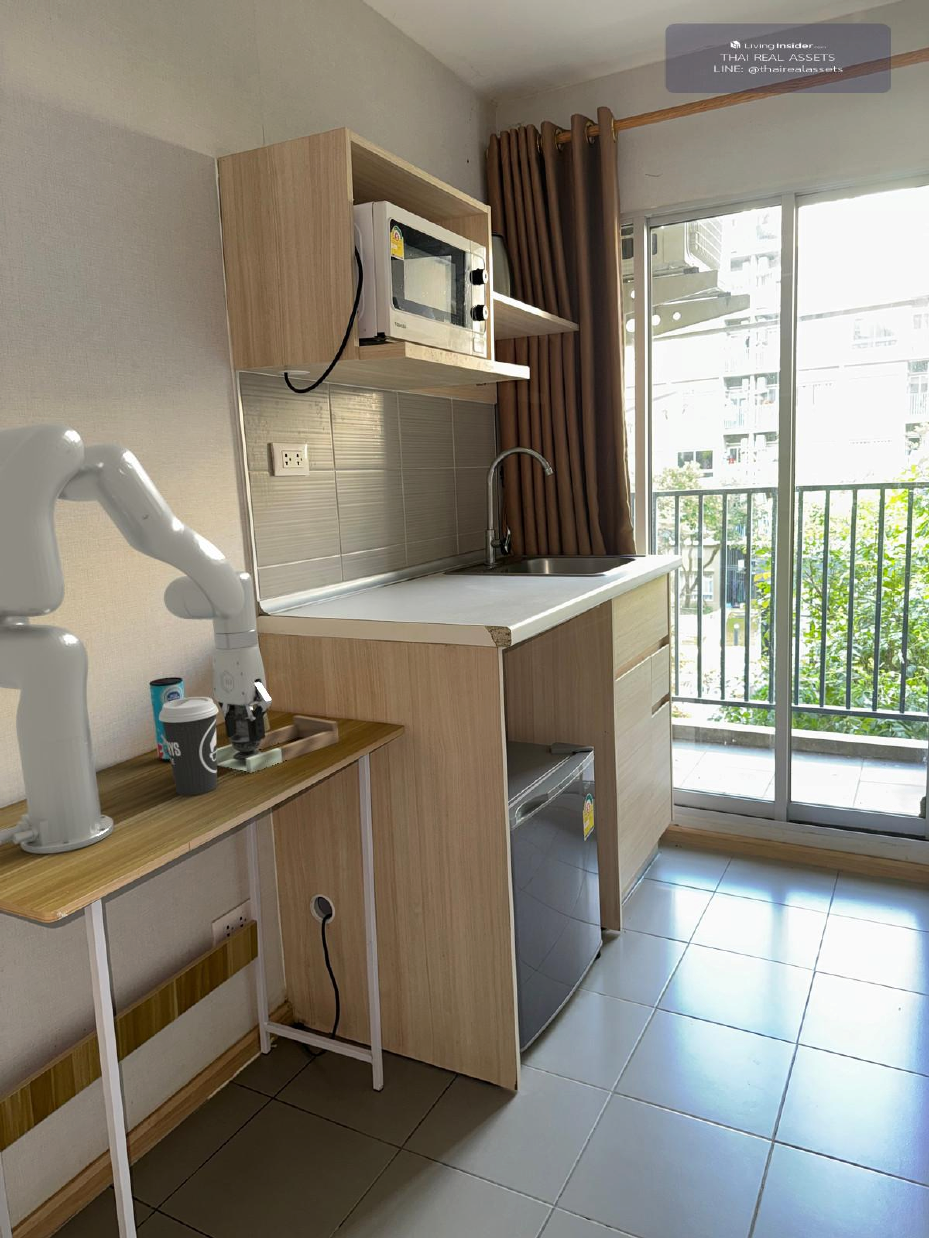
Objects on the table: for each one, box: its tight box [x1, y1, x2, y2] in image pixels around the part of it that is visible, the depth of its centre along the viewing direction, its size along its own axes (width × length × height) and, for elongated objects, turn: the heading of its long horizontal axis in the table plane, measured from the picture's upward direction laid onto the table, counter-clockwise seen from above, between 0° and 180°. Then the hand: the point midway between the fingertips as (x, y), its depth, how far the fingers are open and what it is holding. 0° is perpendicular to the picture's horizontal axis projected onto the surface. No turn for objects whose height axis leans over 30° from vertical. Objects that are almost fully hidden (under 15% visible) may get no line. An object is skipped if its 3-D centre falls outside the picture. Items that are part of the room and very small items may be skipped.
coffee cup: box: [159, 696, 220, 797], centre depth 146 cm, size 10×10×15 cm
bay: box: [216, 714, 340, 774], centre depth 166 cm, size 21×11×4 cm, turn 142°
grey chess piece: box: [229, 705, 263, 760], centre depth 160 cm, size 6×6×12 cm
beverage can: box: [149, 676, 186, 762], centre depth 166 cm, size 6×6×15 cm
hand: (245, 736), depth 160 cm, fingers closed on grey chess piece, 5 cm apart
